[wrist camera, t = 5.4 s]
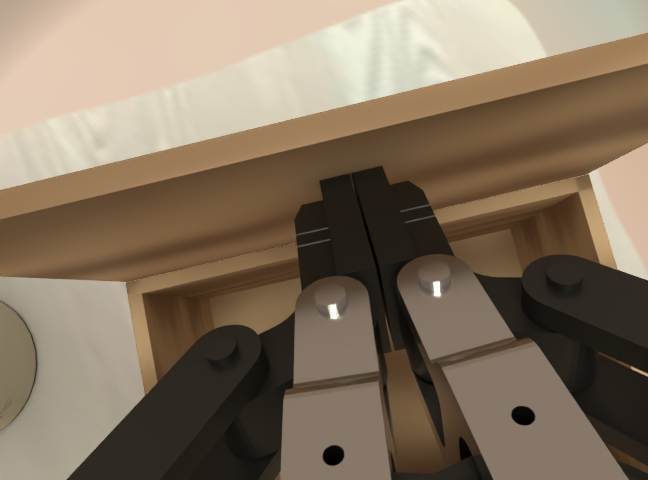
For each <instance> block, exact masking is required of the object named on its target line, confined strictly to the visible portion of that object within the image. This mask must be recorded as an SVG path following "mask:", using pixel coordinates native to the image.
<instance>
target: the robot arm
mask: <svg viewBox="0 0 648 480" xmlns="http://www.w3.org/2000/svg"><path fill="white" fill-rule="evenodd" d="M352 179H353V185H354V188H353V185H352V181H351V178H350V174H345V175H341V176H337V177H332V178H328V179H324V180H319V182H320V187H321V193H322V198H323V200H321V201H317V202H312V203H308V204H304V205H301V207H300V209H299V211H298V213H297V215H296V217H295V219H294V222H295V232H296V241H297V251H298V261H299V270H300V280H301V290H302V292H301V293H300V295H299V296H298V298H297V301H296V304H295V311H294V312H293V313H292V314H291V315H290V316H289V317H288V318H287V319H286V320H284V321H283V322H282V323H280V324H278V325H276V326H275V327H273V328H271V329H269V330H267V331H265V332H262V333H260V334H257V333H256V332H255V331H254V330H253V329H251V328H249V327H247V326H244V325H236V324H235V325H226V326H222V327H218V328H216V329H214V330H211V331H209V332H208V333H206V334H205V335H203V336H202V337H200V338H199V339H198V340H197V341H196V342H195V343H194V344H193V345H192V346H191V347H190V348H189V350H188V351H187V352H186V353H185V354H184V355H183V356H182V357H181V358H180V359H179V360H178V361H177V362H176V363H175V364H174V366H173V367H172V368H171V369H170V370H169V371H168V372H167V373H166V374H165V375H164V376H163V377H162V378H161V379H160V381H159V382H158V383H157V384H156V385H155V386H154V387H153V388H152V389H151V390H150V391H149V392H148V393H147V394H146V395H145V397H144V398H143V399H142V400H141V401H140V402H139V403H138V404H137V405H136V406H135V407H134V408H133V409H132V410H131V411H130V413H129V414H128V415H127V416H126V417H125V418H124V419H123V420H122V421H121V422H120V423H119V424H118V425H117V426H116V427H115V429H114V430H113V431H112V432H111V433H110V434H109V435H108V436H107V437H106V438H105V439H104V440H103V441H102V442H101V444H100V445H99V446H98V447H97V448H96V449H95V450H94V451H93V452H92V453H91V454H90V455H89V456H88V457H87V458H86V460H85V461H84V462H83V463H82V464H81V465H80V466H79V467H78V468H77V469H76V470H75V471H74V472H73V473H72V474H71V476H70V477H69V478H68V479H67V480H275V479H276V477H277V476H278V474H279V473H280V471H281V474H280V480H648V474H647V473H645V472H643V471H641V470H639V469H637V468H634V467H632V466H630V465H628V464H625V463H623V462H620V461H617V460H615V459H614V457H613V456H612V454H611V453H610V451H609V450H608V448H607V447H606V445H605V444H604V442H605V443H607V444H609V445H611V446H612V447H614V448H616V449H618V450H620V451H621V452H623V453H625V454H627V455H628V456H630V457H632V458H634V459H636V460H637V461H639V462H641V463H643V464H645V465H646V466H648V376H645V375H643V374H641V373H639V372H637V371H634V370H632V369H630V368H628V367H626V366H624V365H621V364H619V363H617V362H615V361H613V360H610V359H608V358H606V357H604V356H602V355H600V354H599V353H600V352H601V353H603V354H605V355H608V356H610V357H612V358H614V359H616V360H619V361H621V362H623V363H625V364H627V365H630V366H632V367H634V368H636V369H638V370H641V371H643V372H645V373H647V374H648V281H647V280H645V279H642V278H639V277H636V276H633V275H630V274H628V273H625V272H622V271H619V270H616V269H613V268H610V267H608V266H605V265H602V264H599V263H596V262H593V261H590V260H588V259H585V258H581V257H578V256H573V255H564V254H559V255H549V256H545V257H541V258H539V259H536V260H535V261H533V262H531V263H530V264H529V265H528V266H527V267H526V268H525V269H524V271H523V274H522V277H491V276H485V275H481V274H478V273H475V272H473V271H472V270H471V268H470V267H469V266H468V265H467V264H466V263H465V262H464V261H462V260H460V259H459V258H456V257H455V255H454V253H453V251H452V249H451V247H450V245H449V243H448V241H447V239H446V237H445V235H444V232H443V230H442V228H441V226H440V224H439V222H438V220H437V218H436V217H435V214H434V212H433V210H432V208H431V206H430V204H429V201H428V199H427V197H426V195H425V193H424V191H423V190H422V189H421V188H419V187H418V186H416V185H415V184H413V183H412V182H410V181H404V182H400V183H395V184H391V185H390V184H389V182H388V179H387V177H386V174H385V171H384V169H383V167H382V166H379V167H375V168H371V169H366V170H362V171H358V172H353V173H352ZM354 190H355V192H354ZM385 317H386V318H385ZM386 320H387V323H386ZM387 324H388V328H389V331H390V335H391V339H392V342H393V346H394V349H395V351H397V350H402V349H406V352H407V355H408V358H409V362H410V368H411V374H412V379H413V383H414V385H415V388H416V390H417V393H418V395H419V398H420V401H421V403H422V406H423V408H424V411H425V413H426V416H427V418H428V421H429V423H430V426H431V429H432V431H433V434H434V436H435V439H436V441H437V444H438V446H439V449H440V451H441V454H442V457H443V459H444V462H445V466H446V468H445V469H443V470H441V471H439V472H436V473H430V474H424V473H401V472H400V467H399V460H398V453H397V447H396V440H395V433H394V426H393V420H392V413H391V406H390V399H389V393H388V387H387V382H386V381H387V377H388V371H387V365H386V360H385V355H384V353H389V352H392V350H391V345H390V339H389V334H388V329H387ZM35 369H36V359H35V349H34V345H33V341H32V338H31V335H30V333H29V331H28V329H27V327H26V325H25V324H24V322H23V321H22V319H21V318H20V317H19V316H18V315H17V314H16V313H15V311H13V310H12V309H11V308H9V307H8V306H7V305H5V304H4V303H2V302H0V430H2V429H3V428H4V427H6V426H7V425H8V424H10V423H11V421H12V420H13V419H14V418H15V417H16V416H17V415H18V413H19V412H20V411H21V409H22V408H23V406H24V404H25V402H26V401H27V399H28V397H29V394H30V391H31V389H32V386H33V383H34V377H35Z"/></svg>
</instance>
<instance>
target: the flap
mask: <svg viewBox="0 0 648 480" xmlns="http://www.w3.org/2000/svg"><path fill="white" fill-rule="evenodd" d="M646 143H648V33H646V34H641V35H637V36H634V37H630V38H625V39H621V40H617V41H613V42H608V43H604V44H600V45H596V46H592V47H588V48H584V49H580V50H575V51H572V52H567V53H563V54H559V55H555V56H551V57H547V58H543V59H538V60H534V61H530V62H526V63H522V64H518V65H514V66H510V67H505V68H501V69H497V70H493V71H489V72H485V73H481V74H477V75H473V76H468V77H464V78H460V79H456V80H452V81H448V82H444V83H440V84H435V85H431V86H427V87H423V88H419V89H415V90H411V91H407V92H403V93H398V94H394V95H390V96H386V97H382V98H378V99H374V100H370V101H365V102H361V103H357V104H353V105H349V106H345V107H341V108H337V109H333V110H328V111H324V112H320V113H316V114H312V115H308V116H304V117H300V118H296V119H291V120H287V121H283V122H279V123H275V124H271V125H267V126H263V127H258V128H254V129H250V130H246V131H242V132H238V133H234V134H230V135H226V136H221V137H217V138H213V139H209V140H205V141H201V142H197V143H193V144H188V145H184V146H180V147H176V148H172V149H168V150H164V151H160V152H156V153H151V154H147V155H143V156H139V157H135V158H131V159H127V160H123V161H118V162H114V163H110V164H106V165H102V166H98V167H94V168H90V169H86V170H81V171H77V172H73V173H69V174H65V175H61V176H57V177H53V178H48V179H44V180H40V181H36V182H32V183H28V184H24V185H20V186H16V187H11V188H7V189H3V190H0V276H3V277H27V278H51V279H75V280H99V281H123V282H130V281H134V280H138V279H142V278H147V277H151V276H155V275H160V274H164V273H168V272H172V271H177V270H181V269H185V268H189V267H194V266H198V265H202V264H206V263H211V262H215V261H219V260H223V259H228V258H232V257H236V256H241V255H245V254H249V253H253V252H258V251H262V250H266V249H270V248H275V247H279V246H283V245H287V244H292V243H296V242H297V241H296V232H295V222H294V219H295V217H296V215H297V213H298V211H299V209H300V207H301V205H304V204H308V203H312V202H317V201H321V200H323V198H322V193H321V187H320V182H319V180H324V179H328V178H332V177H337V176H341V175H345V174H350V178H351V181H352V185H353V179H352V173H353V172H358V171H362V170H366V169H371V168H375V167H379V166H382V167H383V169H384V171H385V174H386V177H387V179H388V182H389V184H390V185H391V184H395V183H400V182H404V181H410V182H412V183H413V184H415V185H416V186H418V187H419V188H421V189H422V190H423V191H424V193H425V195H426V197H427V199H428V201H429V204H430V206H431V208H432V210H437V209H441V208H445V207H450V206H454V205H458V204H462V203H467V202H471V201H475V200H479V199H484V198H488V197H492V196H496V195H501V194H505V193H509V192H514V191H518V190H522V189H526V188H531V187H535V186H539V185H543V184H548V183H552V182H556V181H560V180H565V179H569V178H573V177H577V176H582V175H586V174H588V173H590V172H592V171H593V170H595V169H597V168H599V167H601V166H603V165H605V164H607V163H609V162H611V161H613V160H615V159H617V158H619V157H620V156H623V155H625V154H627V153H629V152H631V151H633V150H635V149H637V148H639V147H641V146H642V145H644V144H646ZM353 188H354V185H353ZM354 192H355V190H354Z"/></svg>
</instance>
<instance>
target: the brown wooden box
mask: <svg viewBox="0 0 648 480" xmlns="http://www.w3.org/2000/svg"><path fill="white" fill-rule="evenodd" d="M433 212H434V214H435V217H436V218H437V220H438V222H439V224H440V226H441V228H442V230H443V232H444V235H445V237H446V239H447V241H448V243H449V245H450V247H451V249H452V251H453V253H454V255H455V257H456V258H459V259H460V260H462V261H464V262H465V263H466V264H467V265H468V266H469V267H470V268H471V270H472V271H473V272H475V273H478V274H481V275H485V276H491V277H522V274H523V271H524V269H525V268H526V267H527V266H528V265H529V264H530V263H531V262H533V261H535V260H536V259H539V258H541V257H545V256H549V255H559V254H564V255H573V256H578V257H581V258H585V259H588V260H590V261H593V262H596V263H599V264H602V265H605V266H608V267H610V268H613V269H616V270H618V269H617V266H616V263H615V259H614V256H613V253H612V250H611V246H610V243H609V240H608V236H607V233H606V230H605V227H604V223H603V220H602V217H601V213H600V210H599V207H598V204H597V200H596V197H595V194H594V190H593V187H592V184H591V181H590V177H589V174H588V175H584V176H579V177H575V178H571V179H567V180H562V181H558V182H554V183H549V184H545V185H541V186H537V187H532V188H528V189H524V190H520V191H515V192H511V193H507V194H503V195H498V196H494V197H490V198H485V199H481V200H477V201H473V202H468V203H464V204H460V205H456V206H451V207H447V208H443V209H439V210H434V211H433ZM126 287H127V293H128V299H129V305H130V310H131V316H132V322H133V327H134V333H135V339H136V345H137V350H138V356H139V362H140V368H141V373H142V379H143V385H144V391H145V395H146V394H147V393H148V392H149V391H150V390H151V389H152V388H153V387H154V386H155V385H156V384H157V383H158V382H159V381H160V379H161V378H162V377H163V376H164V375H165V374H166V373H167V372H168V371H169V370H170V369H171V368H172V367H173V366H174V364H175V363H176V362H177V361H178V360H179V359H180V358H181V357H182V356H183V355H184V354H185V353H186V352H187V351H188V350H189V348H190V347H191V346H192V345H193V344H194V343H195V342H196V341H197V340H198V339H199V338H200V337H202V336H203V335H205V334H206V333H208V332H209V331H211V330H214V329H216V328H218V327H222V326H226V325H235V324H236V325H244V326H247V327H249V328H251V329H253V330H254V331H255V332H256V333H257V334H260V333H262V332H265V331H267V330H269V329H271V328H273V327H275V326H276V325H278V324H280V323H282V322H283V321H284V320H286V319H287V318H288V317H289V316H290V315H291V314H292V313H293V312H294V311H295V304H296V301H297V298H298V296H299V295H300V293H301V292H302V290H301V280H300V270H299V261H298V251H297V243H294V244H289V245H285V246H281V247H276V248H272V249H268V250H264V251H259V252H255V253H251V254H247V255H242V256H238V257H234V258H230V259H225V260H221V261H217V262H212V263H208V264H204V265H200V266H195V267H191V268H187V269H183V270H178V271H174V272H170V273H166V274H161V275H157V276H153V277H149V278H144V279H140V280H136V281H131V282H127V283H126ZM385 318H386V317H385ZM386 323H387V320H386ZM387 329H388V334H389V339H390V345H391V350H392V352H389V353H384V355H385V360H386V365H387V371H388V377H387V381H386V382H387V387H388V393H389V399H390V406H391V413H392V420H393V426H394V433H395V440H396V447H397V453H398V460H399V467H400V472H401V473H424V474H430V473H436V472H439V471H441V470H443V469H445V468H446V466H445V462H444V459H443V457H442V454H441V451H440V449H439V446H438V444H437V441H436V439H435V436H434V434H433V431H432V429H431V426H430V423H429V421H428V418H427V416H426V413H425V411H424V408H423V406H422V403H421V401H420V398H419V395H418V393H417V390H416V388H415V385H414V383H413V379H412V374H411V368H410V362H409V358H408V355H407V352H406V349H402V350H397V351H395V349H394V346H393V342H392V339H391V335H390V331H389V328H388V324H387ZM599 354H600V355H602V356H604V357H606V358H608V359H610V360H613V361H615V362H617V363H619V364H621V365H624V366H626V367H628V368H630V369H632V370H634V371H637V372H639V373H641V374H643V375H645V376H648V374H647V373H645V372H643V371H641V370H638V369H636V368H634V367H632V366H630V365H627V364H625V363H623V362H621V361H619V360H616V359H614V358H612V357H610V356H608V355H605V354H603V353H601V352H600V353H599ZM604 444H605V445H606V447H607V448H608V450H609V451H610V453H611V454H612V456H613V457H614V459H615V460H617V461H620V462H623V463H625V464H628V465H630V466H632V467H634V468H637V469H639V470H641V471H643V472H645V473H647V474H648V466H646V465H645V464H643V463H641V462H639V461H637V460H636V459H634V458H632V457H630V456H628V455H627V454H625V453H623V452H621V451H620V450H618V449H616V448H614V447H612V446H611V445H609V444H607V443H605V442H604ZM280 474H281V471H280V473H279V474H278V476H277V477H276V479H275V480H280Z"/></svg>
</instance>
